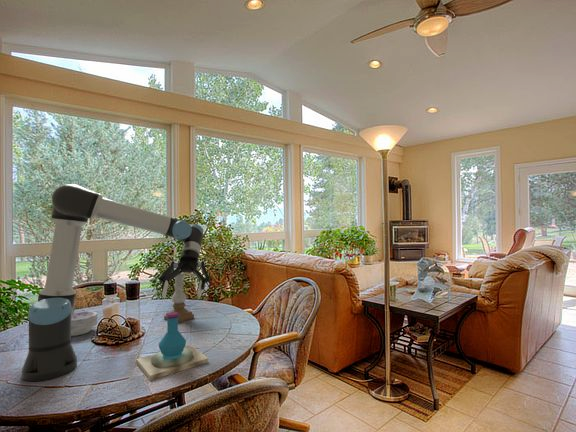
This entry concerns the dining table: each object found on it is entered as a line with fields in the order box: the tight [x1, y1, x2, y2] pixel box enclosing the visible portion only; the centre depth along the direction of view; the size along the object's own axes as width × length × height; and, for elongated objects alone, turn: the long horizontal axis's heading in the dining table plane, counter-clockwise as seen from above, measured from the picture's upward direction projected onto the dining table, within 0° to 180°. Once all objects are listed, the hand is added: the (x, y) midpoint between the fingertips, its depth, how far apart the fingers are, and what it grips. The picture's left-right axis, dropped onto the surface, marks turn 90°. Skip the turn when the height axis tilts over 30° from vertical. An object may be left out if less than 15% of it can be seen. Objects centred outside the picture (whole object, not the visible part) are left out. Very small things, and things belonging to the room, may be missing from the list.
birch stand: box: [135, 344, 209, 381], centre depth 115 cm, size 20×16×2 cm
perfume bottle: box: [158, 312, 187, 360], centre depth 115 cm, size 9×9×15 cm
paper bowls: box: [71, 310, 98, 337], centre depth 146 cm, size 15×15×8 cm
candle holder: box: [163, 271, 195, 324], centre depth 166 cm, size 11×11×24 cm
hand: (181, 296), depth 126 cm, fingers open, 13 cm apart
